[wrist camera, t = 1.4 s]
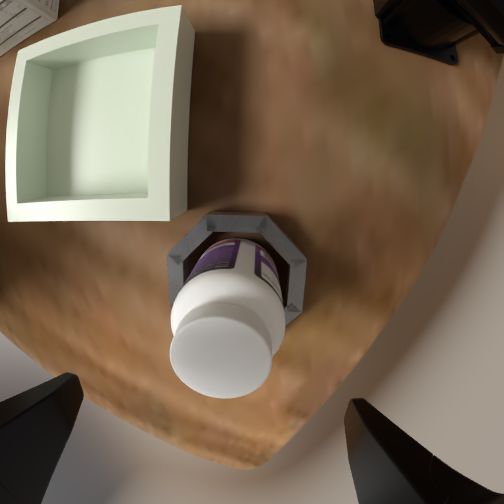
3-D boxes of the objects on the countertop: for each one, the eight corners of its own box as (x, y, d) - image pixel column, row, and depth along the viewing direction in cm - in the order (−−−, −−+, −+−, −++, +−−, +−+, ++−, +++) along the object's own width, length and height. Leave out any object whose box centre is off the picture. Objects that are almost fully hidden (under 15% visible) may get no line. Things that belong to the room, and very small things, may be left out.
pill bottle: (190, 300, 21) (146, 391, 12) (206, 227, 20) (160, 280, 10) (265, 320, 21) (268, 421, 12) (287, 248, 20) (311, 319, 10)
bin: (195, 31, 16) (181, 5, 12) (187, 210, 19) (169, 221, 15) (48, 62, 16) (18, 50, 12) (40, 212, 19) (8, 221, 16)
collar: (306, 214, 19) (310, 218, 18) (296, 334, 21) (298, 345, 20) (172, 210, 19) (165, 213, 18) (178, 328, 22) (173, 338, 20)
